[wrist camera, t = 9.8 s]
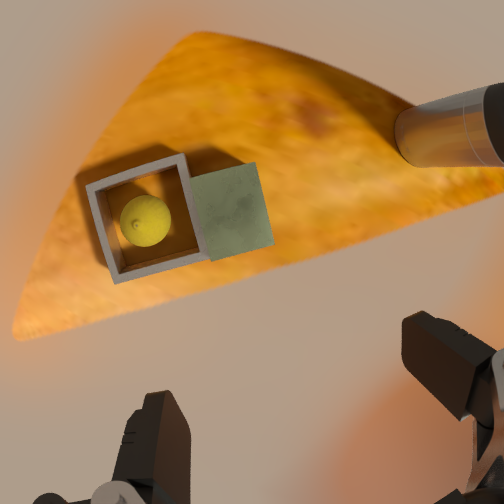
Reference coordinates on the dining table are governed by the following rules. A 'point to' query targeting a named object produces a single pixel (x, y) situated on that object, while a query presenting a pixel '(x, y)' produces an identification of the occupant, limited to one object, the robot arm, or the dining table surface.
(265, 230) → the square open box
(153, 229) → the lemon
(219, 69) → the dining table surface
